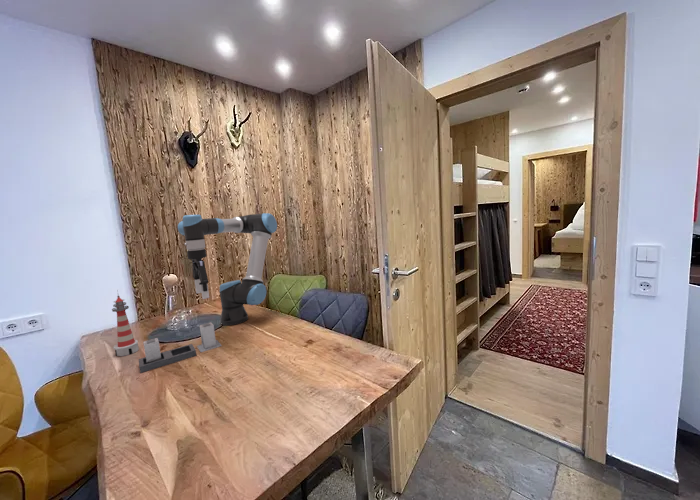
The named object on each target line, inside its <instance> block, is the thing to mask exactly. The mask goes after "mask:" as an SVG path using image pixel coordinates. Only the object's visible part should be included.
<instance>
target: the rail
mask: <svg viewBox="0 0 700 500" xmlns="http://www.w3.org/2000/svg"><path fill="white" fill-rule="evenodd" d="M160 353H161V360H158V361H155V362H152V363H148V364H147V362H146V356H145V357H141V358H138V367H139V373H140V374H142V373H145V372H146V373H147V372H148V371H152V370H156V369H158V368H162V367H165V366H167V365H172V364H175V363H178V362H181V361H185V360H188V359H191V358H193V357H197V350H196V348H195V347H194V345H193V343H190V344H186V345H183V346H180V347H176V348H173V349H170V350H169V349H168V350H165V351H162V352H160Z"/></svg>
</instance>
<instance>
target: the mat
mask: <svg viewBox="0 0 700 500" xmlns="http://www.w3.org/2000/svg"><path fill="white" fill-rule="evenodd" d="M220 347H223V345H222V344H221V343H220V342H219V340H218V339H216V346H214V347H210V348H207V349H204V348H203V346H202V343H201V344H198V345H196V348H197V349H198V351H199V353H204V352H207V351H211V350H213V349H214V350H215V349H217V348H220Z"/></svg>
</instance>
